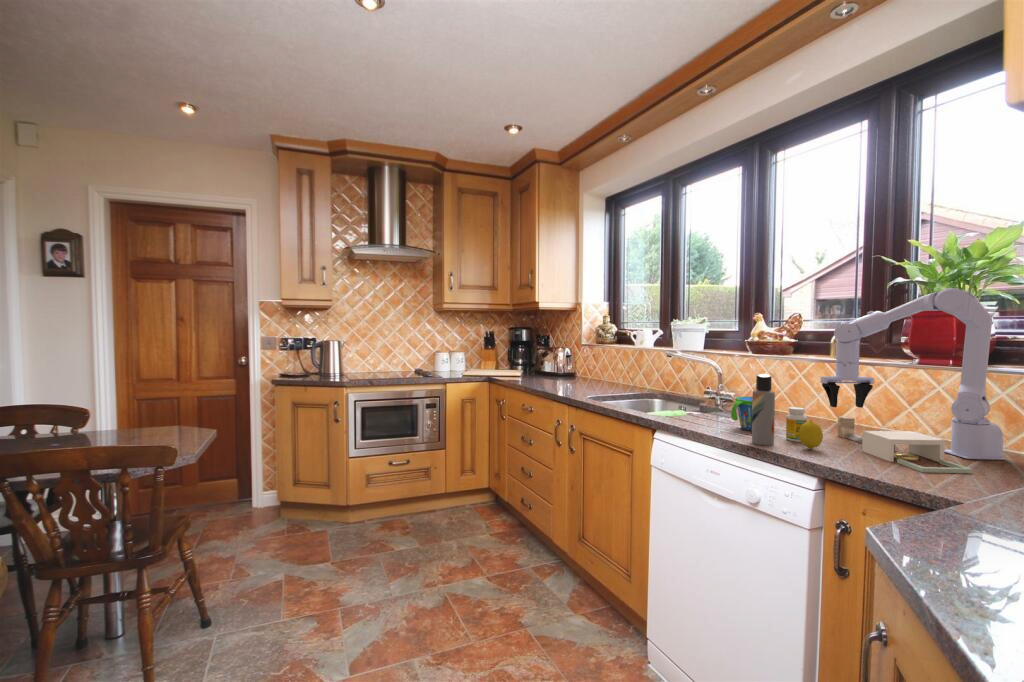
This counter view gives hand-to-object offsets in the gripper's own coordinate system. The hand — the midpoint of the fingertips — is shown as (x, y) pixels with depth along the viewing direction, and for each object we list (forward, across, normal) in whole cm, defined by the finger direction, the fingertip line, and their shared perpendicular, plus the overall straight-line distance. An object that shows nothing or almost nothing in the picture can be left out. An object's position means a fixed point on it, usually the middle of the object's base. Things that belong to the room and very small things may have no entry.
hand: (846, 407), depth 145 cm
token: (+10, 0, +24) cm, 26 cm away
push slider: (+9, 0, +7) cm, 12 cm away
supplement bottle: (+10, +18, +5) cm, 21 cm away
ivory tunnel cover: (+9, 0, +22) cm, 24 cm away
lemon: (+10, +20, +16) cm, 27 cm away
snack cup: (+10, +24, -10) cm, 27 cm away
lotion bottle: (+10, +30, +10) cm, 33 cm away
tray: (+9, 0, +32) cm, 33 cm away
